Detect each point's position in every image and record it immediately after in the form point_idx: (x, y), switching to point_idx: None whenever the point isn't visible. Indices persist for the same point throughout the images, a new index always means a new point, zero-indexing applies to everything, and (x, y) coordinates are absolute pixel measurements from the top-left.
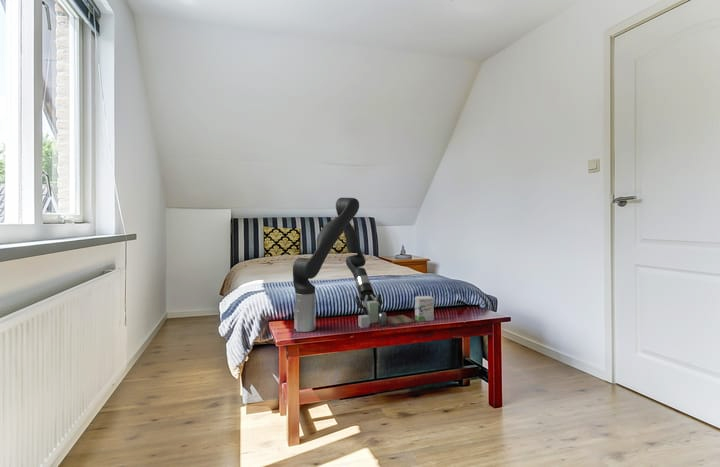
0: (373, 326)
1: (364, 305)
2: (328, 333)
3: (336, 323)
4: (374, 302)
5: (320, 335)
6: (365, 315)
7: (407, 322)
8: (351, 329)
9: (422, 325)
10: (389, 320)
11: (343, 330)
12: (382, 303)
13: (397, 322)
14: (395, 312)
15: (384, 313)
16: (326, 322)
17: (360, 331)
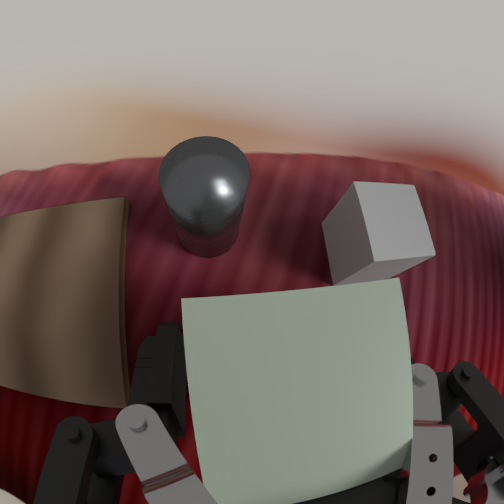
0: (286, 228)
1: (420, 376)
2: (489, 204)
3: (476, 359)
4: (275, 329)
5: (501, 195)
6: (381, 238)
7: (33, 212)
8: (425, 217)
9: (10, 171)
10: (111, 285)
11: (454, 217)
12: (63, 420)
13: (87, 211)
14: (19, 490)
15: (189, 148)
16: (499, 381)
17: (383, 167)
